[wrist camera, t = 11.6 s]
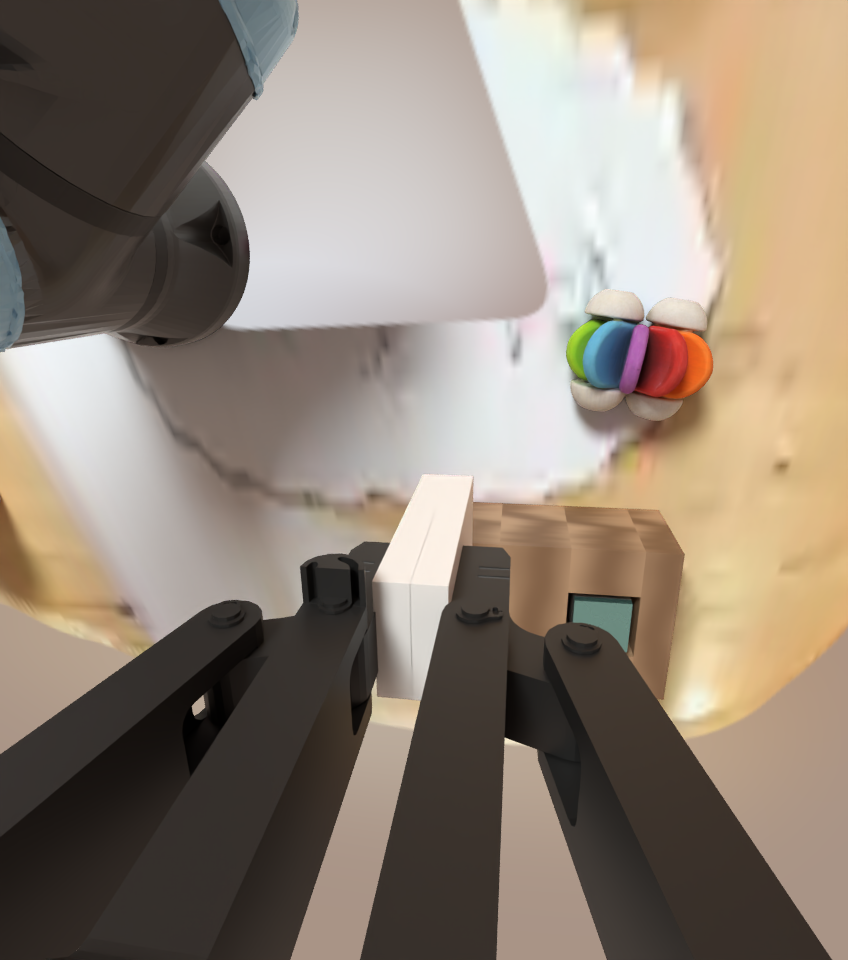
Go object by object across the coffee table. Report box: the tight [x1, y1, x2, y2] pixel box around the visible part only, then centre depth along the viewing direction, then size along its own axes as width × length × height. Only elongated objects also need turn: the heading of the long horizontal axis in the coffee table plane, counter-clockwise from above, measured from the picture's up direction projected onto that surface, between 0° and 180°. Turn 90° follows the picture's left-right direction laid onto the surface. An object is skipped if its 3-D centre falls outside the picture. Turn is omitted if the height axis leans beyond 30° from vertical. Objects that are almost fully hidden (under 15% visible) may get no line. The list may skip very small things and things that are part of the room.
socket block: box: [472, 502, 685, 699], centre depth 48 cm, size 20×12×8 cm, turn 91°
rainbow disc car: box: [566, 289, 713, 421], centre depth 41 cm, size 8×10×7 cm
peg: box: [567, 593, 633, 652], centre depth 47 cm, size 4×4×8 cm
